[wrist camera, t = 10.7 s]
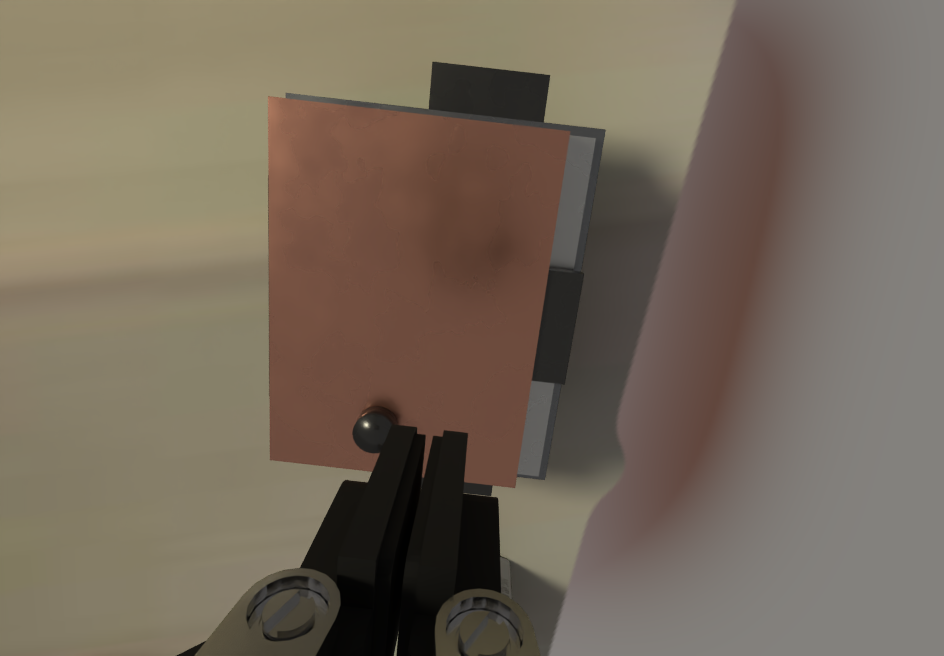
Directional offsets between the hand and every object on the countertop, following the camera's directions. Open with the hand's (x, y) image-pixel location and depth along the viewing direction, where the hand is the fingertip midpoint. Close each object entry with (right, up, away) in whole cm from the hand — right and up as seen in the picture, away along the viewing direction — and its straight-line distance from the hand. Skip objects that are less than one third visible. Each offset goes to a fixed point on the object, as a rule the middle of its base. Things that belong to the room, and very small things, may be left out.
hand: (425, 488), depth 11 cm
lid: (-2, +5, +16) cm, 17 cm away
